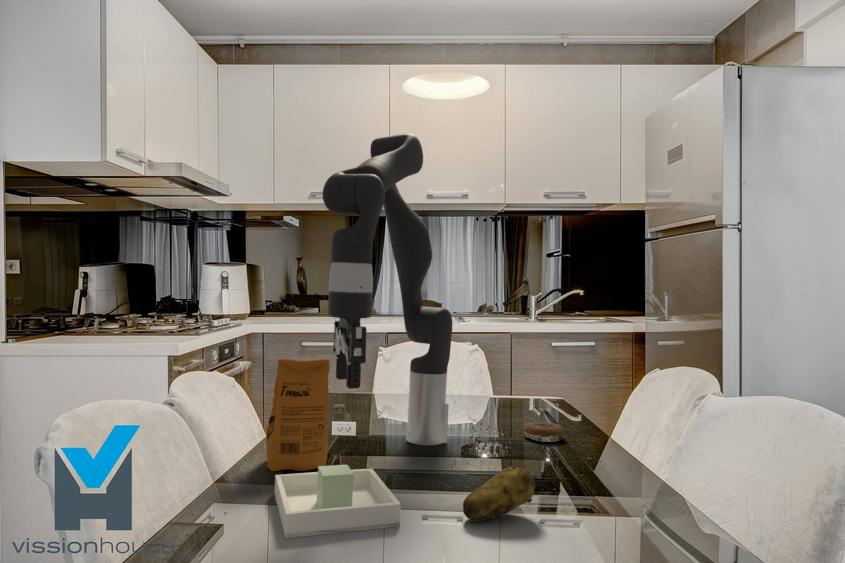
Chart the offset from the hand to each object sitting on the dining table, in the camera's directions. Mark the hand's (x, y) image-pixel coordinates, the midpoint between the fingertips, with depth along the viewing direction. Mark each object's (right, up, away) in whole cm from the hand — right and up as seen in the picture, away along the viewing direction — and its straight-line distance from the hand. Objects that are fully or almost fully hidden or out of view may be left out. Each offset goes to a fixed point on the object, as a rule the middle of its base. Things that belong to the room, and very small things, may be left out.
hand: (347, 383), depth 96 cm
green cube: (-2, -20, -4) cm, 20 cm away
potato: (+25, -22, -3) cm, 34 cm away
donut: (+45, -24, +50) cm, 71 cm away
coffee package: (-13, -21, +19) cm, 31 cm away
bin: (-2, -20, -3) cm, 21 cm away
